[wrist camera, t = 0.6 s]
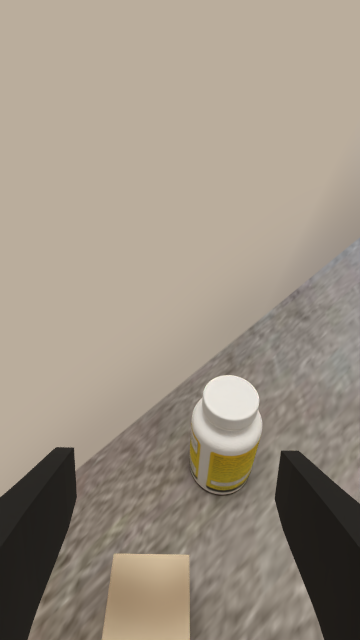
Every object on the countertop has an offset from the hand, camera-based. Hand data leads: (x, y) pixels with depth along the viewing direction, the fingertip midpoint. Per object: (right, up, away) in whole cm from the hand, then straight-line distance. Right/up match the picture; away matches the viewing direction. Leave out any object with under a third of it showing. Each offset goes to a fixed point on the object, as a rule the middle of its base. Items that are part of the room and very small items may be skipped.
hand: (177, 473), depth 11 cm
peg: (-2, -15, +10) cm, 18 cm away
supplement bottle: (+4, -8, +18) cm, 20 cm away
